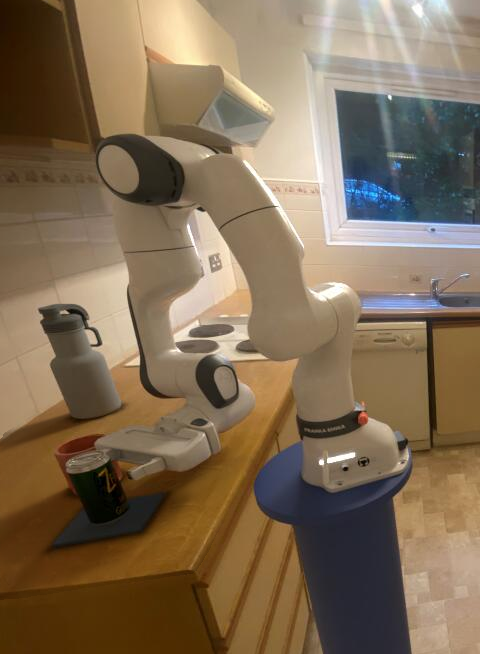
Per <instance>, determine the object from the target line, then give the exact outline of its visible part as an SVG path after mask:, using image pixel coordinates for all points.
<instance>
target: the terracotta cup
mask: <svg viewBox="0 0 480 654" xmlns="http://www.w3.org/2000/svg"><path fill="white" fill-rule="evenodd" d="M106 435H107V434H105V433H91V434H85V435H82V436H77V437H75V438H72V439H69V440H66V441H65V442H63V443H60V444H59V445H58V446H57V447H55V448H54V449H53V455H54V457H55V459H56V462H57V463H58V465H59V469H60V470H61V472H62V474H63V476H64V478H65V480H66V482H67V484H68V487H69V489H70V491H72V493H73V494H74V495H76V496H78V495H77V493H76V491H75V488H74V486H73V484H72V482H71V480H70V478H69V476H68V473H67V471H66V468H67V466H66V463H67V461H69V460H70V459H71V458H73V457H75V456H77V455H80V454H82V453H86V452H90V451H96V449H95V446H94V443H95V442H96V441H97V440H98V439H99V438H101V437H104V436H106ZM112 464H113V466H114V468H115V471H116V473H117V476H118V478H119V480H120V481H121V480H122V479H123V472H122V469H121V466H120V463H119V461H116V460H112Z"/></svg>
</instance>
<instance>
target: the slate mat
mask: <svg viewBox="0 0 480 654" xmlns="http://www.w3.org/2000/svg"><path fill="white" fill-rule="evenodd" d="M165 496H166V493H165V492H160V493H154V494H146V495H141V496H135V497H129V498H128V497H127V500H128V502H129V505H130V508H129V513H128V514H127V515H126V516H125V517H124V518H122V519H121V520H119V521H117V522H115V523H112V524H109V525H104V526H96V525H94V524H92V523H91V522H90V521H89V518H88V516H87V514H86V512H85V510H84V508H82V510H80V512H79V513H78V514H77V515H76V517H74V519H73V520H72V521H71V522H70V523H69V524H68V526H67V527H65V529H64V530H63V531H62V532H61V534H60V535H59V536H58V537H57V538H56V539H55V540H54V541H53V542H52V543H51V547H52V548H53V549H54V548H59V547H65V546H71V545H76V544H82V543H88V542H93V541H98V540H106V539H110V538H115V537H121V536H129V535H133V534H139V533H142V531H143V530H144V528H145V527H146V526H147V524H148V523H149V521H150V519H151V518H152V516H153V515H154V513H155V512H156V510H157V509H158V507H159V505H160V504H161V503H162V502H163V499H164V498H165Z"/></svg>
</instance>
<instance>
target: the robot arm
mask: <svg viewBox="0 0 480 654" xmlns="http://www.w3.org/2000/svg"><path fill="white" fill-rule="evenodd" d="M94 155H95V157H94V159H95V166H96V170H97V173H98V175H99V178H100V179H101V181H102V183H103V184H104V185H105V187H106V188H107V189H108V190H109V191H110V192H111V193H112V197H111V201H110V202H111V209H112V217H113V222H114V227H115V228H114V229H115V232H116V235H117V239H118V242H119V245H120V249H121V252H122V254H123V258H124V261H125V262H126V263H125V264H126V267H127V273H128V274H127V275H128V284H127V286H126V299H127V300H126V301H127V305H128V310H129V311H128V312H129V314H130V319H131V323H132V327H133V331H134V336H135V339H136V344H137V349H138V354H139V380H140V383H141V385H142V387H143V389H144V390H145V392H146V393H148V394H149V395H151V396H152V397H155V398H158V399H162V400H167V399H168V400H170V399H171V400H172V399H185V404H184V405H183V406H181V407H178V408H177V409H175V410H173V411H171V412H169V413H167V414H165V415H163V416H161V417H159V418H158V419H157V420H156V423H155V426H151V425H142V424H133V425H129V426H126V427H123V428H121V429H118V430H115V431H113V432H110V433H109V434H108V433H107V434H105V435H106V436H104V437H101V438H99V439H98V440H97V441H96V442H95V443H94V446H95V449H96V450H102V451H105V452H106V454H107V455H108V456H109V457H110V459H111V461H112V460H116V461H118V462H122V463H126V464H127V463H128V464H133V465H134V466H133V467H131V468H129V469H128V470H127V471H126V472H125V474H126V476H127V479H128V480H132V481H139V480H141V479H142V478H144V477H145V476H150V475H153V474H156V473H160V472H162V471H164V470H167V471H173V472H178V473H181V472H186V471H189V470H191V469H194V468H195V467H197V466H199V465H200V464H202V463H203V462H205V461H206V460H208V459H209V458H210V457H211V456H214V455H216V454H218V453H219V452H221V451H222V447H221V442H220V437H219V435H220V434H224V433H226V432H227V431H229V430H232V429H233V428H235V427H236V426H238V425H239V424H240V423H242V422H243V421H244V420H245V419H247V418H248V417H249V416H250V415H251V414H252V412H253V410H254V409H255V407H256V396H255V394H254V392H253V390H252V388H251V387H249V386H248V385H247V384H245V383H243V382H242V381H241V380H240V379H239V378H238V376H237V371H236V369H235V367H234V365H233V363H232V362H231V361H230V359H229V358H227V357H226V356H224V355H223V354H220V353H209V352H208V353H206V352H204V353H203V352H195V353H194V352H183V351H181V350H180V349H179V348H178V347H177V345H176V341H175V336H174V331H173V325H172V321H171V317H170V309H171V306H172V305H173V304H174V303H175V301H176V300H177V299H179V298H180V297H183V296H184V295H186V294H188V293H189V292H191V291H192V290H193V289H195V287H196V286H197V284H198V283H199V282H200V280H201V277H202V263H201V259H200V255H199V252H198V248H197V246H196V243H195V239H194V236H193V234H192V230H191V228H190V223H189V222H190V220H189V219H190V216H191V214H192V212H193V211H195V210H196V211H198V212H201V213H205V212H206V213H207V216H209V218H210V220H211V221H212V223H213V225H214V226H215V227H216V229H217V231H218V232H219V234H220V236H221V238H222V239H223V241H224V242H225V244H226V246H227V248H228V249H229V251H230V252H231V254H232V255H233V257H234V259H235V260H236V262H237V264H238V266H239V267H240V269H241V271H242V273H243V275H244V278H245V280H246V283H247V286H248V291H249V295H250V302H251V310H250V314H249V318H248V320H247V326H246V330H247V331H246V332H247V336H248V339H249V341H250V343H251V345H252V346H253V348H254V349H255V350H256V351H257V352H258V354H260V355H261V356H263V357H264V358H266V359H268V360H270V361H274V362H287V361H292V360H296V359H297V363H296V365H295V368H294V369H293V371H292V374H291V379H290V380H291V381H290V384H291V390H292V393H293V398H294V404H295V408H296V415H295V423H296V424H295V425H296V429H297V433H298V435H299V438H300V441H302V447H303V462H302V470H301V476H302V478H303V480H304V481H306V482H307V483H309V484H311V485H315V486H319V487H322V488H324V489H325V490H326V491H328V492H330V493H335V492H339V491H342V490H346V489H349V488H353V487H356V486H360V485H363V484H367V483H370V482H374V481H377V480H381V479H384V478H388V477H391V476H395V475H398V474H401V473H403V472H404V471H405V470H406V468H407V466H408V464H409V453H408V449H407V445H408V444H409V439H408V438H407V437H404V435H403V434H402V432H401V430H395V431H393V430H392V428H391V427H390V426H389V424H387V423H384V422H382V421H379V420H377V419H374V418H372V417H369V414H368V411H367V407H366V405H365V402H364V401H363V400H362V401H361V403H359V402H357V401H355V395H354V386H353V378H352V357H353V349H354V340H355V332H356V329H357V325H358V323H359V320H360V318H361V315H362V311H363V310H362V309H363V308H362V302H361V299H360V297H359V295H358V294H357V292H355V290H353V288H351V287H350V286H348V285H346V284H344V283H339V282H320V283H318V284H313V285H311V286H309V285H308V284H307V281H306V277H305V273H304V271H303V270H304V269H303V260H304V258H305V251H306V249H305V246H304V244H303V243H302V241H301V239H300V238H299V236H298V233H297V232H296V230H295V228H294V227H293V225H292V224H291V221H290V220H289V218H288V217H287V214H286V213H285V212H284V210H283V208H282V207H281V205H280V203H279V201H278V200H277V198H276V196H275V195H274V194H273V192H272V191H271V189H270V188H269V187H268V185H267V184H266V183H265V181H264V180H263V178H262V177H261V176H260V175H259V173H258V172H257V171H256V170H255V168H254V167H253V166H252V165H251V164H250V163H249V162H248V161H247V160H246V159H244V158H243V157H241V156H239V155H237V154H232V153H224V152H223V151H222V150H220V149H218V148H215V147H213V146H210V145H208V144H205V143H194V142H191V141H187V140H183V139H177V138H174V137H171V136H160V135H139V134H136V133H120V134H119V133H118V134H113V135H110V136H107V137H105V138H103V139H102V140H101V141H99V143H98V145H97V147H96V150H95V154H94Z"/></svg>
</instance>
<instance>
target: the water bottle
mask: <svg viewBox="0 0 480 654" xmlns="http://www.w3.org/2000/svg"><path fill="white" fill-rule="evenodd" d="M37 310H38V313H39V314H40V315H42V319H41V320H39V323H40V325H41V328H42V330H43V332H44V335H46V337H47V338H48V341H49V343H50V346H51V348H52V351H53V353H54V356H55V357H53V359H51V360H50V363H49V368H50V370H51V372H52V375H53V377H54V379H55V381H56V384H57V386H58V389H59V391H60V394H61V396H62V398H63V400H64V402H65V404H66V407H67V409H68V412H69V413H70V416H71V417H73V418H74V419H77V420H91V419H97V418H101V417H104V416H107V415H111V414H112V413H114V412H115V411H117V410H118V409H120V408H121V406H122V400H121V398H120V395H119V393H118V390H117V387H116V385H115V381H114V379H113V376H112V374H111V371H110V368H109V366H108V362H107V360H106V358H105V356H104V354H103V353H102V352H100V351H98V350H95V349H93V348H98V347H101V346H102V345H103V341H102V336H101V334H100V332H99V330H98V329H97V328H96V327H94V326H89V323H88V321H89V320H90V318H91V317H90V315H89V313H88V311H87V310H86V309H85V308H84V307H83V306H81V305H79V304H76V303H54V304H53V303H52V304H49V305H45V306H41V307H37ZM63 311H65V312H67V313H61V312H63ZM87 330H88V331H92V332H93V333H94V336H95V339H96V341H97V342H96V343H90V340H89V338H88V335H87V332H86V331H87Z"/></svg>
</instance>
